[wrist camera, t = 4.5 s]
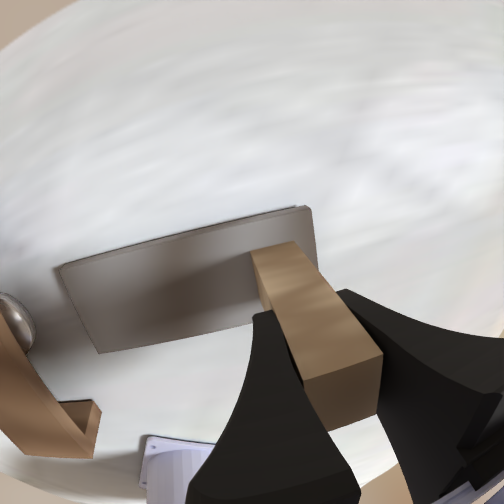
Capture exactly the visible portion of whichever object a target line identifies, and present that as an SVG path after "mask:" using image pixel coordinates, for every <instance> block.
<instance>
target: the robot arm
mask: <svg viewBox="0 0 504 504" xmlns="http://www.w3.org/2000/svg"><path fill="white" fill-rule="evenodd" d="M336 293H337V295H338V296H339V297H340V298H341V300H342V301H343V302H344V303H345V305H346V306H347V307H348V308H349V310H350V311H351V312H352V314H353V315H354V316H355V317H356V319H357V320H358V321H359V323H360V324H361V325H362V326H363V328H364V329H365V330H366V332H367V333H368V334H369V335H370V337H371V338H372V339H373V341H374V342H375V343H376V345H377V346H378V347H379V349H380V350H381V351H382V352H383V363H382V372H381V381H380V389H379V396H378V403H377V410H376V414H377V416H378V418H379V420H380V422H381V424H382V426H383V428H384V430H385V432H386V434H387V436H388V439H389V441H390V443H391V445H392V448H393V450H394V452H395V455H396V457H397V459H398V462H399V464H400V467H401V469H402V472H403V475H404V477H405V480H406V483H407V486H408V489H409V491H410V494H411V498H412V500H413V504H471V503H473V502H474V501H476V500H477V499H478V498H480V497H481V496H482V495H484V494H485V493H486V492H488V491H489V490H490V489H492V488H493V487H494V486H496V485H497V484H498V483H499V482H501V481H502V480H503V479H504V338H493V337H483V336H476V335H470V334H465V333H459V332H455V331H450V330H446V329H443V328H439V327H436V326H432V325H429V324H426V323H423V322H420V321H418V320H415V319H412V318H410V317H407V316H405V315H402V314H400V313H397V312H395V311H393V310H391V309H388V308H386V307H384V306H382V305H380V304H378V303H376V302H374V301H371V300H369V299H367V298H365V297H363V296H361V295H359V294H357V293H355V292H353V291H351V290H348V289H343V290H340V291H337V292H336ZM252 321H253V341H252V348H251V355H250V360H249V364H248V368H247V372H246V376H245V380H244V383H243V386H242V389H241V392H240V395H239V398H238V401H237V403H236V405H235V408H234V410H233V412H232V415H231V417H230V419H229V421H228V423H227V425H226V427H225V429H224V431H223V433H222V434H221V436H220V438H219V440H218V441H217V443H216V445H211V444H201V443H193V442H185V441H178V440H172V439H165V438H160V437H153V436H151V437H148V438H147V441H146V446H145V451H144V457H143V462H142V468H141V474H140V479H139V487H140V488H143V489H147V504H358V503H359V500H360V496H361V489H360V487H359V485H358V483H357V480H356V478H355V476H354V474H353V472H352V469H351V467H350V466H349V465H348V463H347V462H346V460H345V459H344V457H343V456H342V454H341V453H340V451H339V450H338V448H337V447H336V445H335V443H334V442H333V440H332V439H331V437H330V435H329V434H328V432H327V431H326V429H325V427H324V425H323V424H322V422H321V420H320V418H319V417H318V415H317V413H316V411H315V410H314V408H313V406H312V404H311V402H310V400H309V398H308V396H307V395H306V393H305V391H304V389H303V387H302V385H301V383H300V381H299V379H298V377H297V374H296V372H295V370H294V368H293V366H292V363H291V360H290V357H289V354H288V350H287V346H286V343H285V339H284V336H283V332H282V329H281V326H280V323H279V321H278V319H277V317H276V315H275V313H274V312H273V310H272V309H271V310H268V311H264V312H260V313H256V314H254V315H253V317H252ZM484 504H504V486H503V487H502V488H501V489H500V490H499V491H498V492H497V493H496V494H495V495H493V496H492V497H491V498H490V499H489V500H488V501H486V502H485V503H484Z"/></svg>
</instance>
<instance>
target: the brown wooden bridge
mask: <svg viewBox="0 0 504 504" xmlns="http://www.w3.org/2000/svg"><path fill="white" fill-rule="evenodd" d="M101 414H102V412H101V410H100V409H99V408H98V406H97V405H96V404H95V402H94V401H86V402H73V403H58V402H57V401H56V399H55V398H54V397H53V395H52V394H51V393H50V391H49V390H48V388H47V387H46V386H45V384H44V383H43V381H42V380H41V378H40V377H39V376H38V374H37V373H36V371H35V370H34V368H33V367H32V365H31V364H30V362H29V360H28V359H27V357H26V356H25V354H24V352H23V351H22V349H21V348H20V346H19V344H18V343H17V341H16V339H15V337H14V336H13V334H12V332H11V330H10V329H9V327H8V325H7V323H6V321H5V319H4V318H3V316H2V314H1V312H0V429H1V430H2V431H3V433H4V434H5V435H6V436H7V437H8V438H9V439H10V440H11V441H12V442H13V443H14V444H15V445H16V446H17V447H18V448H19V449H20V450H21V451H22V452H23V453H24V454H25V455H32V456H43V457H57V458H84V459H93V453H94V448H95V443H96V438H97V433H98V428H99V423H100V418H101Z"/></svg>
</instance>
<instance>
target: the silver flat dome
mask: <svg viewBox="0 0 504 504" xmlns="http://www.w3.org/2000/svg"><path fill="white" fill-rule="evenodd" d="M0 312H1V314H2V316H3V318H4V319H5V321H6V323H7V325H8V327H9V329H10V330H11V332H12V334H13V336H14V337H15V339H16V341H17V343H18V344H19V346H20V348H21V349H22V351H23V352H24V354H26V353H27V352H28V351H29V349H30V347H31V346H32V344H33V342H34V340H35V337H36V329H35V325H34V322H33V319H32V317H31V315H30V314H29V312H28V311H27V309H26V308H25V307H24V306H23V305H22V304H21V303H20V302H19V301H18V300H17V299H16V298H14V297H12V296H11V295H9V294H6V293H1V292H0Z"/></svg>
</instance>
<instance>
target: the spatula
mask: <svg viewBox="0 0 504 504" xmlns="http://www.w3.org/2000/svg"><path fill="white" fill-rule="evenodd" d="M59 273H60V275H61V278H62V280H63V282H64V285H65V287H66V289H67V291H68V294H69V296H70V298H71V300H72V303H73V305H74V307H75V309H76V311H77V313H78V315H79V317H80V319H81V321H82V323H83V325H84V327H85V329H86V331H87V333H88V335H89V337H90V339H91V341H92V343H93V345H94V346H95V348H96V350H97V352H98V354H102V353H108V352H114V351H120V350H126V349H132V348H137V347H143V346H148V345H154V344H159V343H164V342H169V341H174V340H179V339H184V338H189V337H194V336H198V335H203V334H207V333H212V332H216V331H221V330H225V329H230V328H234V327H238V326H242V325H247V324H251V323H253V321H252V317H253V315H254V314H256V313H260V312H264V311H268V310H271V309H272V310H273V312H274V313H275V315H276V317H277V319H278V321H279V323H280V326H281V329H282V332H283V336H284V339H285V343H286V346H287V350H288V354H289V357H290V360H291V363H292V366H293V368H294V370H295V372H296V374H297V377H298V379H299V381H300V383H301V385H302V387H303V389H304V391H305V393H306V395H307V396H308V398H309V400H310V402H311V404H312V406H313V408H314V410H315V411H316V413H317V415H318V417H319V418H320V420H321V422H322V424H323V425H324V427H325V429H326V431H327V432H329V431H332V430H335V429H338V428H341V427H344V426H346V425H349V424H352V423H355V422H357V421H360V420H363V419H365V418H368V417H370V416H373V415H375V414H376V410H377V403H378V396H379V389H380V381H381V372H382V363H383V352H382V351H381V350H380V349H379V347H378V346H377V345H376V343H375V342H374V341H373V339H372V338H371V337H370V335H369V334H368V333H367V332H366V330H365V329H364V328H363V326H362V325H361V324H360V323H359V321H358V320H357V319H356V317H355V316H354V315H353V314H352V312H351V311H350V310H349V308H348V307H347V306H346V305H345V303H344V302H343V301H342V300H341V298H340V297H339V296H338V295H337V293H336V292H335V291H334V290H333V288H332V287H331V286H330V285H329V283H328V282H327V281H326V280H325V278H324V277H323V276H322V275H321V273H320V272H319V270H318V261H317V252H316V243H315V235H314V227H313V219H312V211H311V209H310V208H309V207H308V206H306V205H303V206H299V207H294V208H289V209H285V210H280V211H276V212H271V213H267V214H262V215H258V216H253V217H249V218H244V219H240V220H236V221H231V222H227V223H223V224H219V225H214V226H210V227H206V228H202V229H198V230H194V231H189V232H185V233H181V234H177V235H173V236H169V237H165V238H161V239H157V240H153V241H149V242H145V243H142V244H138V245H134V246H130V247H126V248H122V249H119V250H115V251H111V252H107V253H104V254H100V255H96V256H93V257H89V258H85V259H82V260H78V261H74V262H71V263H67V264H64V266H63V267H62V268H61V269H60V270H59Z"/></svg>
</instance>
